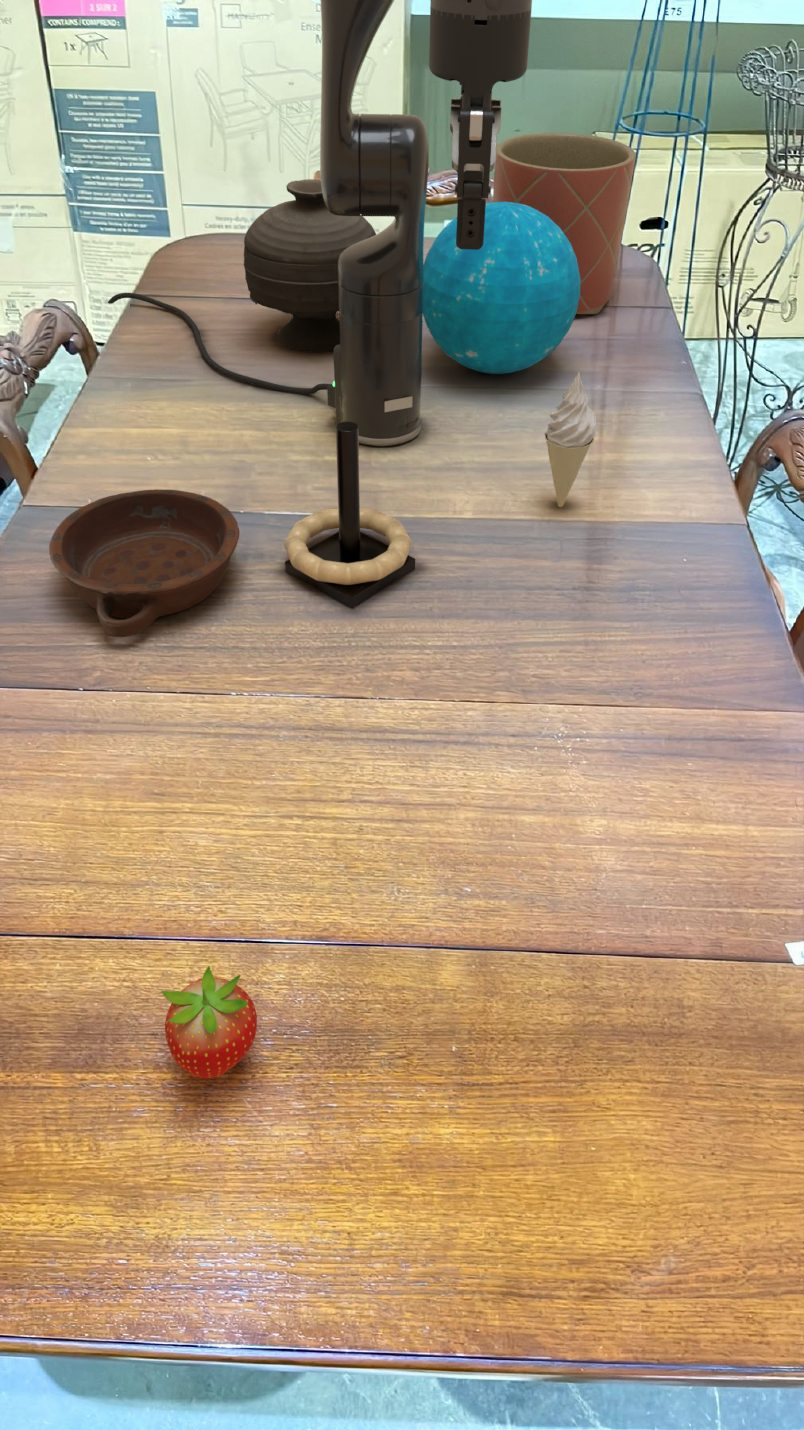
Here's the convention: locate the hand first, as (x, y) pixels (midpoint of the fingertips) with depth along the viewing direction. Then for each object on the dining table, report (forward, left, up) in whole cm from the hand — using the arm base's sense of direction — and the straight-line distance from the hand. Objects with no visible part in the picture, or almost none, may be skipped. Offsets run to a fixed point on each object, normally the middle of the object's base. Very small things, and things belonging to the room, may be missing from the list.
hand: (469, 230), depth 91 cm
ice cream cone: (+4, +12, -30) cm, 33 cm away
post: (-4, -12, -30) cm, 32 cm away
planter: (-32, +60, -30) cm, 74 cm away
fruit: (+27, -56, -30) cm, 69 cm away
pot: (-47, +26, -30) cm, 61 cm away
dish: (-17, -26, -30) cm, 43 cm away
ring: (-5, -11, -28) cm, 30 cm away
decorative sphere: (-23, +35, -30) cm, 52 cm away
